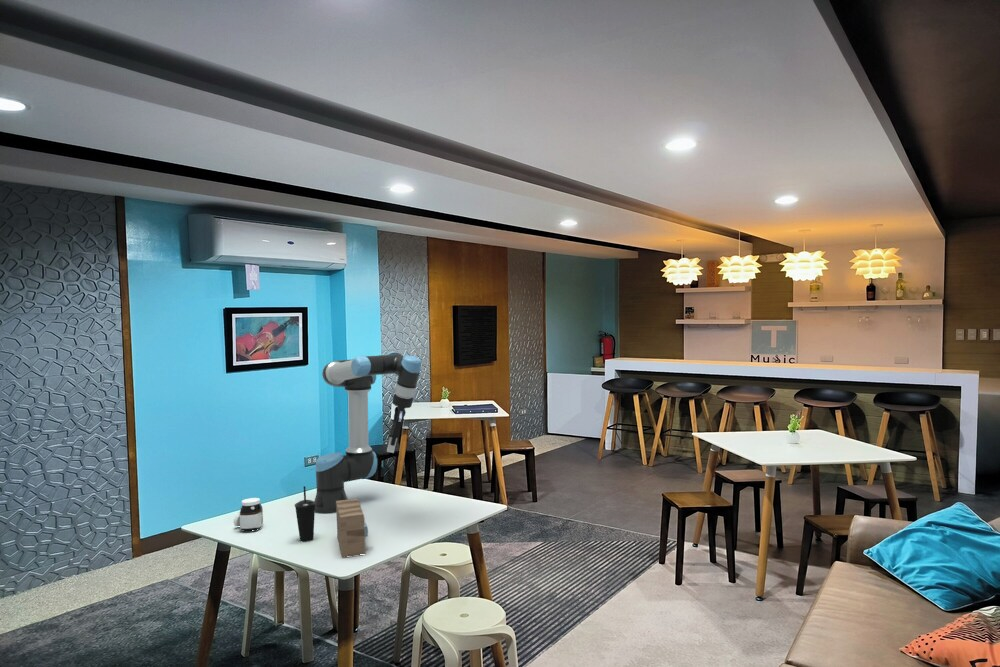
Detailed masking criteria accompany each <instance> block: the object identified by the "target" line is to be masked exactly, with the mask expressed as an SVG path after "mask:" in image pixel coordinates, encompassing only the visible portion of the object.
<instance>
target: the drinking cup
mask: <svg viewBox="0 0 1000 667" xmlns="http://www.w3.org/2000/svg"><path fill="white" fill-rule="evenodd" d="M306 493H307V490H306V486H304V485H303V499H302V500H300V501H298V502H296V503H294V507H295V512H296V522H297V527H298V535H299V536H298V537H299V541H300V542H301V541H302V543H306V542H307V541H308V542H310V541H313V540H314V533H315V514H316V512H315V504H316V502H315V500H311V499H307V496H306V495H307V494H306ZM308 542H307V543H308Z"/></svg>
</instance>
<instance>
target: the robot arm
mask: <svg viewBox="0 0 1000 667" xmlns="http://www.w3.org/2000/svg"><path fill="white" fill-rule="evenodd" d="M422 362H423V361H422V360H421V358H419V357H417V356H413V355H403V354H402V353H399V352H397V351H395V350H394V351H393V350H391V351H389V352H388V353H386V354H380V355H368V356H367V355H365V356H364V355H362V356H356V357H354V358H352V359H344V360H341V359H339V360H335V361H330V362H329V363H327V364H326V365H324V367H323V369H322V371H321V375H322V379H323V380H324V382H325V383H326V384H327V385H328V386H331V387H336V388H341V387H342V388H344V391H345V392H346V393H347V396H348V397H347V400H348V401H347V402H348V404H347V405H348V447H346V449H345V455H344V454H343V453H342V452H331V453H327V454H324V455H323V454H322V455H321V456H319V457H318V458H317V459H316V461H315V478H316V479H315V481H316V483H315V484H316V494H315V497H314V501H315V502H316V504H315V513H317V512H318V513H317V514H330V513H331V514H333V512H334V513H336V501H341V500H349V498H348V495H347V493H346V490H345V483H347V482H352V481H358V480H365V479H368V478H371V477H373V476H374V475H375V474H376V472H377V468H378V458H377V454H376V452H375V451H373V448H372V447H371V446H370V445H369V392H370V391H371V390H372V385H374V384H375V383H376V380H377V376H378V375H379V376H381V375H391V374H392V375H393V374H394V375H396V376H398V377H397V381H396V385H395V390H394V395H393V398H392V404H393V405H394V406H395V407H394V414H393V421H392V425H391V429H390V434H389V435H388V436H389V440H388V445H387V449H386V452H387V453H392V454H394V453H395V449H396V445H397V441H398V439H399V437H400V432H401V430H402V429H401V428H402V427H403V426H402V425H403V422H404V420H405V416H406V412H407V411H406V409H409V408H412V404H413V401H414V395H415V392H417V389H416V388H417V385H418V382H419V379H420V378H419V377H420V374H421V371H422Z"/></svg>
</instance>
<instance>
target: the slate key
mask: <svg viewBox="0 0 1000 667" xmlns="http://www.w3.org/2000/svg"><path fill="white" fill-rule="evenodd" d="M364 534H365V538H366V537H369V525H368V524H367V522H366V521H365V523H364Z"/></svg>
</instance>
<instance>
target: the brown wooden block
mask: <svg viewBox="0 0 1000 667" xmlns="http://www.w3.org/2000/svg"><path fill="white" fill-rule="evenodd" d="M335 513H336V533H337V534H336V536H337V542H338V547H339V551H340V552H339V553H340V557H345V558H348V557H347V556H352V557H355V556H354V555H359V556H361V555H360V554H365V555H366V540H365V539H366V537H365V534H364V518H365V514H364V512H363V509H362V507H361V504H360V501H359V499H358V498H351V499H349V498H348V500H341V501H336V512H335Z"/></svg>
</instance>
